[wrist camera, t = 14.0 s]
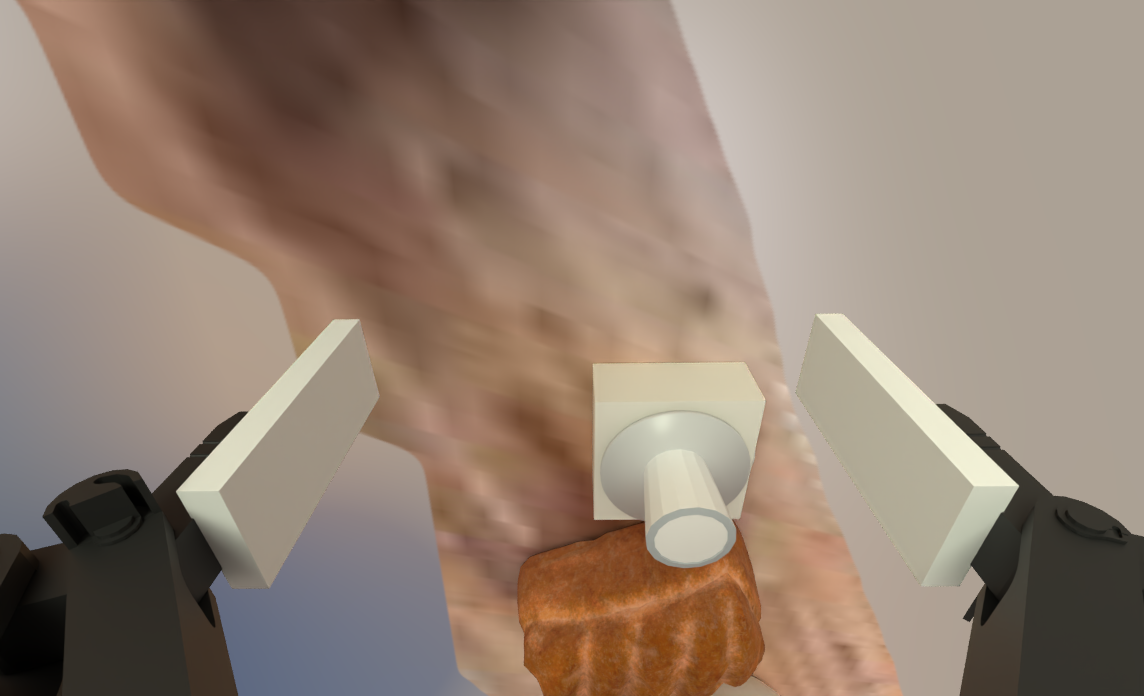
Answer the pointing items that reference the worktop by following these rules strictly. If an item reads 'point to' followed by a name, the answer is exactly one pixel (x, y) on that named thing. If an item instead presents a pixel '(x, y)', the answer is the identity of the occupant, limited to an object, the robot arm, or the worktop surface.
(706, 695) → the bread
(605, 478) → the kitchen scale
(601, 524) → the worktop surface
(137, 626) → the robot arm
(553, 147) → the worktop surface
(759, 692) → the pot
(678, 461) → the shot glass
